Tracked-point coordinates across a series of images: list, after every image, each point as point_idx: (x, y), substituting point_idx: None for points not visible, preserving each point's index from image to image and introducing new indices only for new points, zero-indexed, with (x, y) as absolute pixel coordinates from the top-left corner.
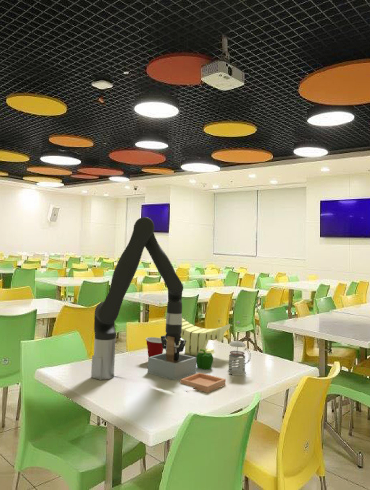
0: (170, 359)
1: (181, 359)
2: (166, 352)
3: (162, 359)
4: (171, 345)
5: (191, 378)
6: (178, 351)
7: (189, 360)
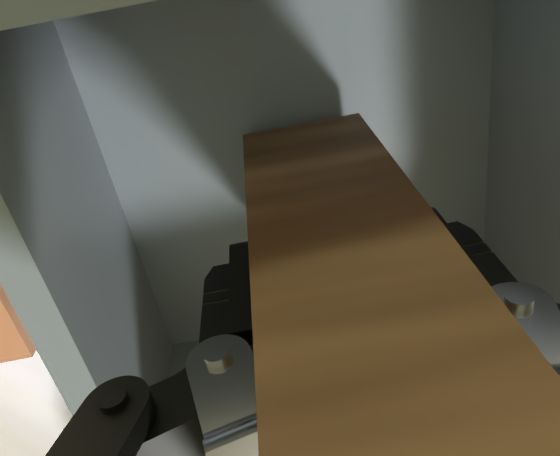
0: (305, 201)
1: None
2: (498, 273)
3: (554, 221)
4: (352, 428)
5: None
6: (115, 385)
7: (68, 394)
